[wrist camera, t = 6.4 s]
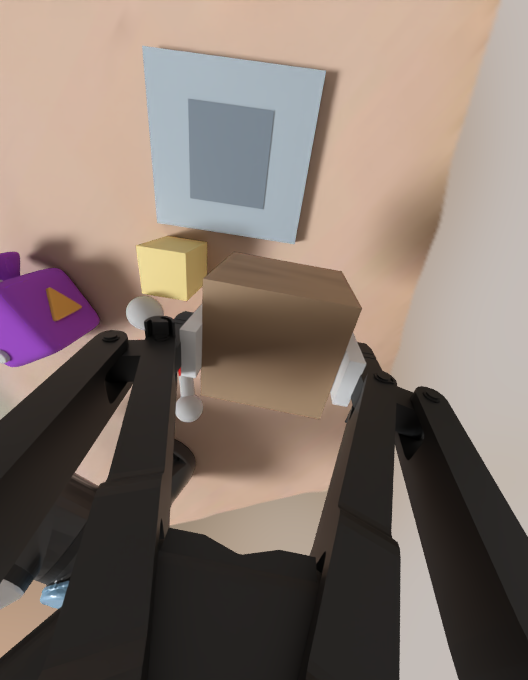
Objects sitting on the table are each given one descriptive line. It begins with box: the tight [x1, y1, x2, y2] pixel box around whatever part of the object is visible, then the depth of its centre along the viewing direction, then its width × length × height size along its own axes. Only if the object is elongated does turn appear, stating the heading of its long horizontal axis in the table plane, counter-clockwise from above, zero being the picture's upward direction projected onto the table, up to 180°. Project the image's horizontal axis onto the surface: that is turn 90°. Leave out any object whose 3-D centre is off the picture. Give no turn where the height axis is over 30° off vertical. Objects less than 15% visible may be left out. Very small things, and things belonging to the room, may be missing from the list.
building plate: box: [142, 46, 326, 244], centre depth 25 cm, size 14×16×1 cm
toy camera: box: [0, 252, 100, 367], centre depth 32 cm, size 11×14×10 cm
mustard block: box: [136, 236, 207, 301], centre depth 29 cm, size 5×5×7 cm
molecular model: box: [126, 296, 203, 422], centre depth 33 cm, size 18×6×10 cm, turn 11°
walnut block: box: [201, 252, 362, 419], centre depth 15 cm, size 7×7×6 cm
